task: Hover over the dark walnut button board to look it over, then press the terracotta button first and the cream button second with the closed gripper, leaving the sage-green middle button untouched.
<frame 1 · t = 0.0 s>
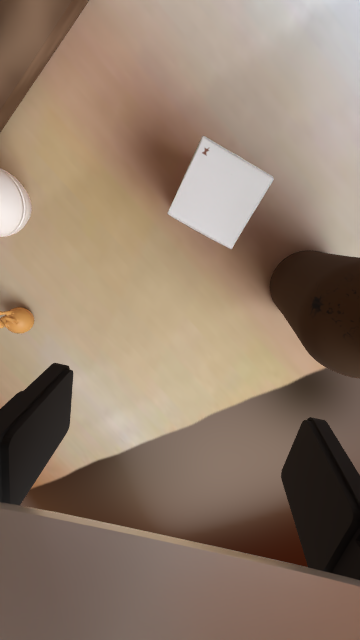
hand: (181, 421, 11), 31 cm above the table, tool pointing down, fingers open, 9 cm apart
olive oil: (303, 284, 40), on the table
figurine: (24, 310, 45), on the table
supplement box: (213, 203, 37), on the table
spinning top: (31, 205, 39), on the table
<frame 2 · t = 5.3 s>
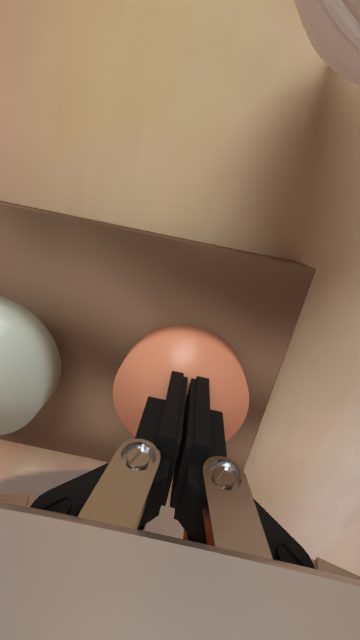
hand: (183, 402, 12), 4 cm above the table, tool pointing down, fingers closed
terracotta button: (181, 390, 13), point 3 cm above the table, slide at 1.2 cm, touching gripper
spinning top: (333, 53, 11), on the table
button board: (39, 329, 16), on the table
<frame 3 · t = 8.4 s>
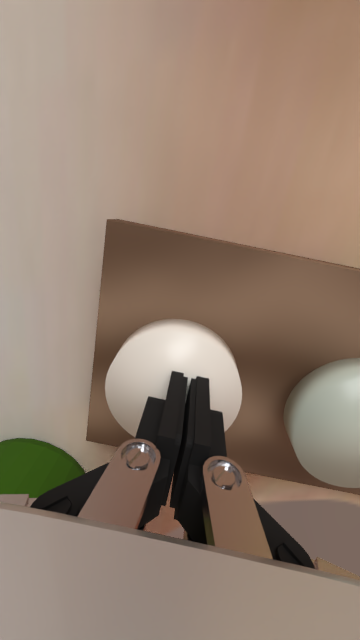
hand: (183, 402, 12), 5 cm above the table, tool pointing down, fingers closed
sage button: (355, 424, 13), point 4 cm above the table, slide at 0.0 cm
wine bottle: (36, 480, 22), on the table
cream button: (174, 385, 13), point 4 cm above the table, slide at 0.2 cm, touching gripper
button board: (317, 375, 17), on the table
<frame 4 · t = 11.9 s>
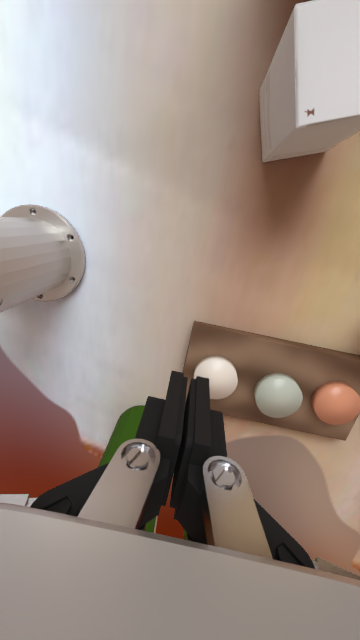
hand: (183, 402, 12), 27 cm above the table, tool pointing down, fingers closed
sage button: (277, 395, 38), point 4 cm above the table, slide at 0.0 cm
wine bottle: (144, 426, 47), on the table
cream button: (215, 377, 39), point 3 cm above the table, slide at 1.2 cm
supplement box: (292, 121, 31), on the table
terracotta button: (335, 403, 39), point 3 cm above the table, slide at 1.2 cm
button board: (270, 378, 42), on the table
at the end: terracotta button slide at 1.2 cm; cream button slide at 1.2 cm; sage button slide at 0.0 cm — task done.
